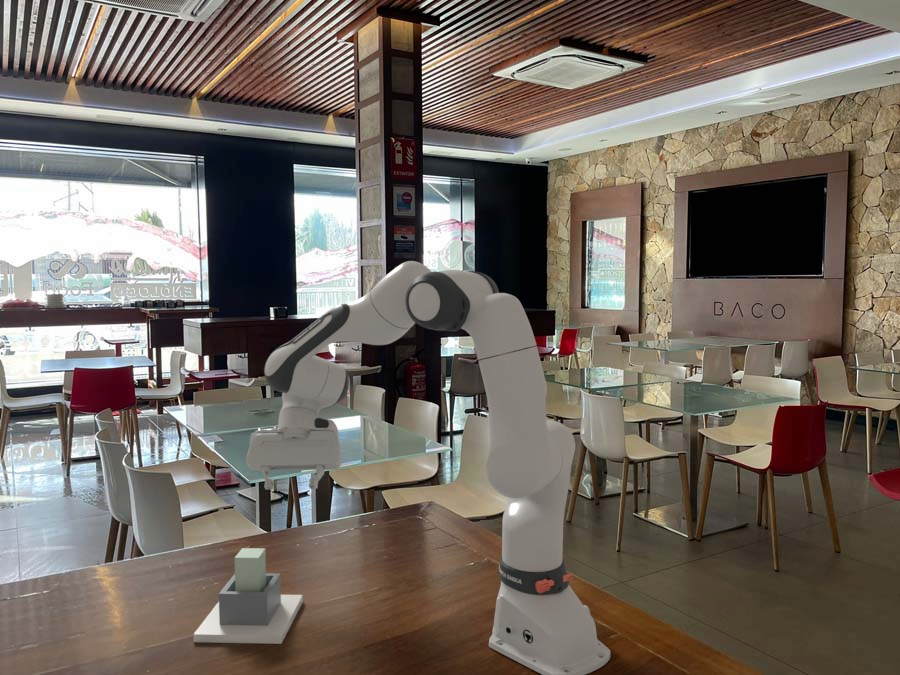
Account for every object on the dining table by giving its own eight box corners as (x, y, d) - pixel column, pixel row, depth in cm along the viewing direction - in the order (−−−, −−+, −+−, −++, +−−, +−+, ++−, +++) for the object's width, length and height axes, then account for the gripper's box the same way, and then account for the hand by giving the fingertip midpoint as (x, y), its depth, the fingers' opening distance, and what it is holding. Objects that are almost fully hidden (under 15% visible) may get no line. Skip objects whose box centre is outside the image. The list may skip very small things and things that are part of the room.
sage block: (243, 607, 134) (242, 548, 133) (266, 608, 134) (265, 548, 133) (236, 619, 130) (234, 557, 129) (259, 619, 130) (258, 557, 129)
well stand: (224, 600, 140) (223, 565, 140) (302, 602, 140) (302, 566, 139) (193, 642, 125) (192, 602, 124) (281, 643, 124) (280, 603, 123)
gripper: (247, 423, 150) (237, 483, 143) (341, 421, 150) (335, 481, 142) (255, 435, 155) (245, 494, 148) (345, 433, 155) (340, 492, 148)
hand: (290, 488), depth 145 cm, fingers open, 8 cm apart
